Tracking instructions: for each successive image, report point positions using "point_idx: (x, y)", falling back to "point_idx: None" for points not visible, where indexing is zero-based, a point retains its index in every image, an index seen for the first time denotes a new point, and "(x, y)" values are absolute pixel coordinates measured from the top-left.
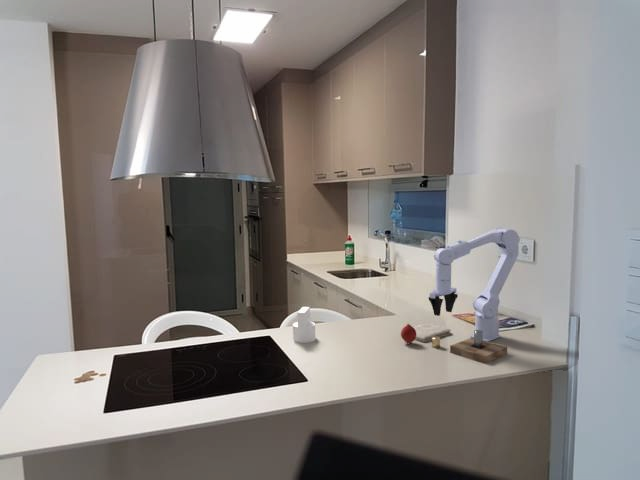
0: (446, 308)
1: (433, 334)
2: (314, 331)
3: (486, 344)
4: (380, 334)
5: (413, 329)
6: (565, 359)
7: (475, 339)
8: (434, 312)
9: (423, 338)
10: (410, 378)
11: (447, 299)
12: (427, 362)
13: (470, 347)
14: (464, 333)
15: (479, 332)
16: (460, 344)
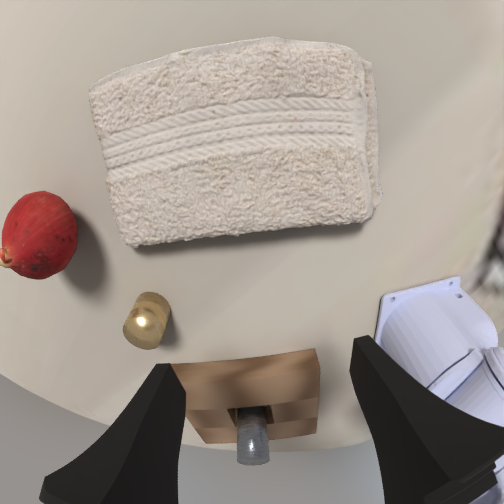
0: (364, 361)
1: (209, 235)
2: None
3: (289, 415)
4: (40, 49)
5: (36, 276)
6: (364, 441)
7: (237, 438)
8: (148, 385)
9: (126, 244)
10: (28, 378)
11: (403, 452)
12: (71, 365)
13: (219, 413)
14: (411, 245)
15: (246, 464)
16: (208, 392)
